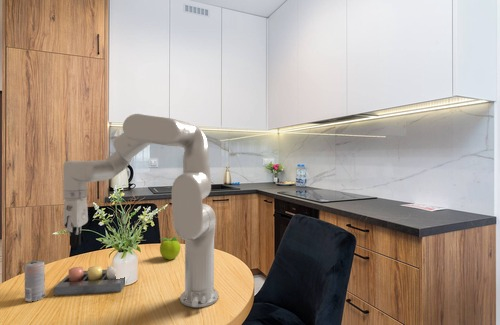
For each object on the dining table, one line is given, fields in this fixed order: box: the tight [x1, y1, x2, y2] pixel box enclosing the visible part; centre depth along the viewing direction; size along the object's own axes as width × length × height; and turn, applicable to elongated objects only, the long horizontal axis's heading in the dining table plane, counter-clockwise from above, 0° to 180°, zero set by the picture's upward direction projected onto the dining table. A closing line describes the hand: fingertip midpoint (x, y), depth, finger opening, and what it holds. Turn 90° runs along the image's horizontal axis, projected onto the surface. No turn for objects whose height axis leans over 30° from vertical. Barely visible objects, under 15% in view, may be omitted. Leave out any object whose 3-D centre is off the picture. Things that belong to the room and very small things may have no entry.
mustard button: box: [87, 265, 103, 281], centre depth 108 cm, size 5×5×4 cm
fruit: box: [159, 236, 181, 261], centre depth 137 cm, size 9×9×10 cm
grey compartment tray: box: [53, 269, 126, 296], centre depth 108 cm, size 14×21×3 cm, turn 99°
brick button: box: [68, 266, 84, 282], centre depth 107 cm, size 5×5×4 cm
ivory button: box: [106, 265, 116, 280], centre depth 109 cm, size 5×5×4 cm
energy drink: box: [24, 259, 46, 303], centre depth 98 cm, size 5×5×12 cm
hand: (75, 245), depth 107 cm, fingers closed
